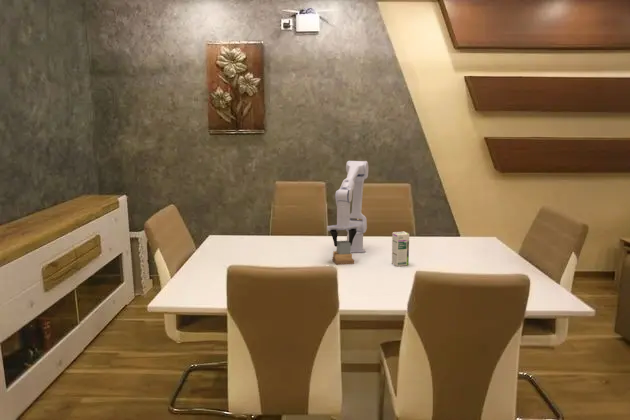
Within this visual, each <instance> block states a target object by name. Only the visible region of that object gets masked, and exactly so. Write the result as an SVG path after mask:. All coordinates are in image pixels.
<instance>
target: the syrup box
mask: <svg viewBox="0 0 630 420" xmlns="http://www.w3.org/2000/svg"><path fill="white" fill-rule="evenodd" d="M391 235H392V237H391V238H392V241H391V243H392V244H391V264H393V265H394V266H395V267H403V266H404V267H405V266H409V259H410V258H409V257H410V256H409V254H410V233H409V232H406V231H394V232H392V233H391Z"/></svg>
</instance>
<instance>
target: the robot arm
mask: <svg viewBox="0 0 630 420" xmlns="http://www.w3.org/2000/svg"><path fill="white" fill-rule="evenodd" d="M345 171H346V174H347V175H346V178H345V179H343V180H342V182H341V185H340V187H339V189H338V190H336V191H335V195H334V196H335V197H334V198H335V205H336V224H332V225H326V230H327V232H329V233H330V235H331V238H332V240H333V245H334V247H336V248H337V241H338V232H337V231H346V233H347V235H346V241H349V242H350V243H351V249H350V253H351V254H352V253H366V250H365V249H364V234H365V233H366V232H367V229H368V223H367V222H368V221H367V220H368V219H367V217H366V215H364V213H362V211H363V210H362V209H363V208H362V207H363V197H364V196H363V194H364V182H365V180H366V179H368V176H369V162H368V161H367V160H348V161H346V164H345ZM351 202H352V206H351Z"/></svg>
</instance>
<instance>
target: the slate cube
mask: <svg viewBox="0 0 630 420" xmlns="http://www.w3.org/2000/svg"><path fill="white" fill-rule="evenodd" d="M350 249H351V243H350V242H349V241H347V240H337V246H336V251H337V253H338V254H340V255H341V254H350Z"/></svg>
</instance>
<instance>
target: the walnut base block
mask: <svg viewBox="0 0 630 420" xmlns="http://www.w3.org/2000/svg"><path fill="white" fill-rule="evenodd" d="M331 258H332V262H333V263H334V264H336V265H337V266H343V265H354V264H355V259H354V258H352V260H340V261H337V260H336V259H335V258H334V257H333V256H332V257H331Z"/></svg>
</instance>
